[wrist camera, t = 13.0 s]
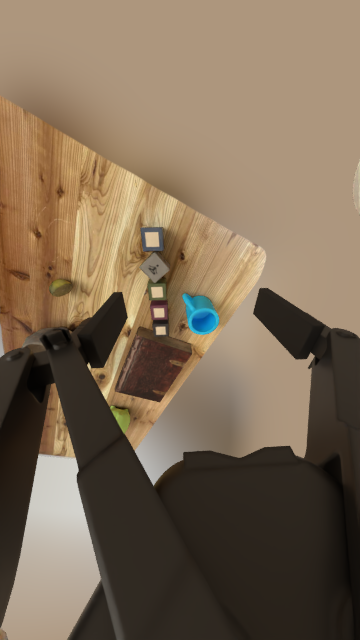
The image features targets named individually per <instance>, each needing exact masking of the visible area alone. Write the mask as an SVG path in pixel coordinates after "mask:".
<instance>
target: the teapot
mask: <svg viewBox="0 0 360 640" xmlns="http://www.w3.org/2000/svg"><path fill="white" fill-rule="evenodd" d="M110 409H111V411H112V413H113V415H114V417H115V418H116V420H117V422H118V424H119V426H120V428H121V429H122V431H123V433H124V434H125V432H126V430H127V429H128V426H129V423H130V415H129V413H128V411H129V410H128V409H123V410H121V409H117V408H116V407H115V406H110Z"/></svg>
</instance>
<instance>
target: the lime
mask: <svg viewBox="0 0 360 640" xmlns="http://www.w3.org/2000/svg"><path fill="white" fill-rule="evenodd" d="M71 289H72V284H71V283H70V282H68V281H66V280H63V279H58V280H55V281H54V282H52V284H51V285H50V286H49V290H50V293H51V294H52V295H53V296H56V297H60V296H63V295H65V294H67V293H68V292H70V291H71Z"/></svg>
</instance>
